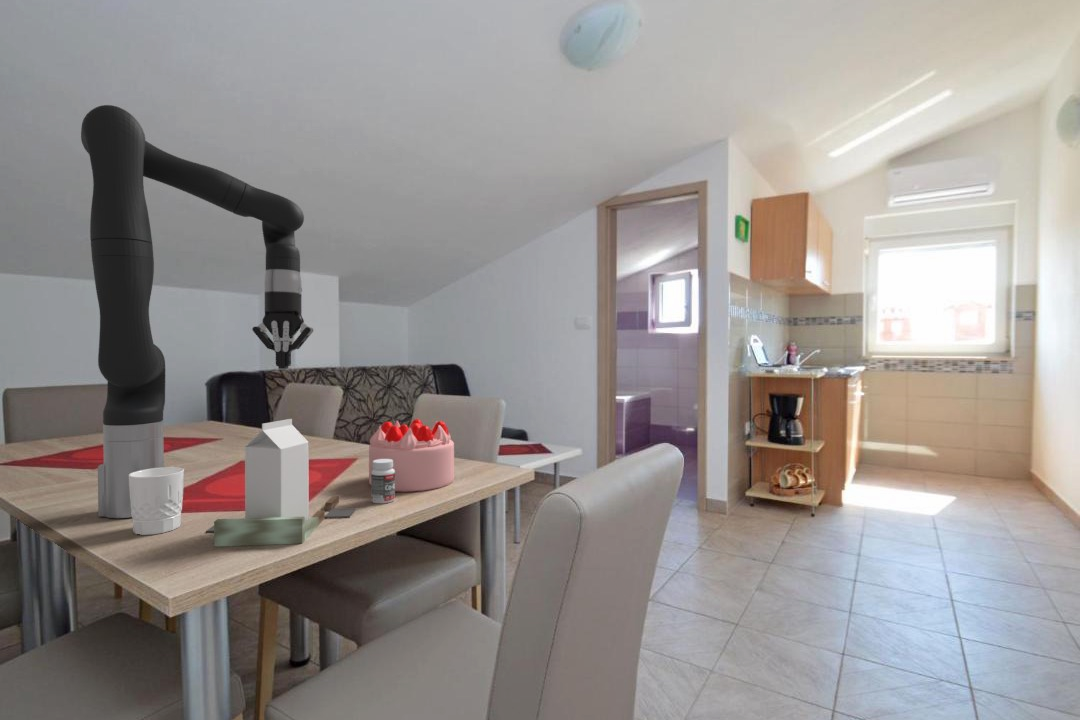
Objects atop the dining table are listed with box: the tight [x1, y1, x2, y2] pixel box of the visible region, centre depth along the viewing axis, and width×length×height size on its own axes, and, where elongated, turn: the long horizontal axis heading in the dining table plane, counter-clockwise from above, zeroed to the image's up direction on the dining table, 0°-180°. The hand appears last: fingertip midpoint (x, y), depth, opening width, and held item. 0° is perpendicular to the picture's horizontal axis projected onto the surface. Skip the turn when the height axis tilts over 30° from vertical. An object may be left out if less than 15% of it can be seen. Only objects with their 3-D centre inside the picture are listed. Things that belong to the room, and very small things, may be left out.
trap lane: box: [213, 494, 340, 547], centre depth 98 cm, size 13×24×4 cm, turn 7°
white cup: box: [128, 466, 185, 536], centre depth 94 cm, size 8×8×10 cm
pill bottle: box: [370, 459, 396, 504], centre depth 112 cm, size 5×5×8 cm
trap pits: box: [205, 507, 356, 534], centre depth 99 cm, size 25×6×1 cm, turn 115°
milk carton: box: [244, 418, 310, 523], centre depth 93 cm, size 7×7×19 cm
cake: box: [368, 418, 455, 493], centre depth 129 cm, size 20×20×14 cm
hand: (283, 368), depth 122 cm, fingers closed
